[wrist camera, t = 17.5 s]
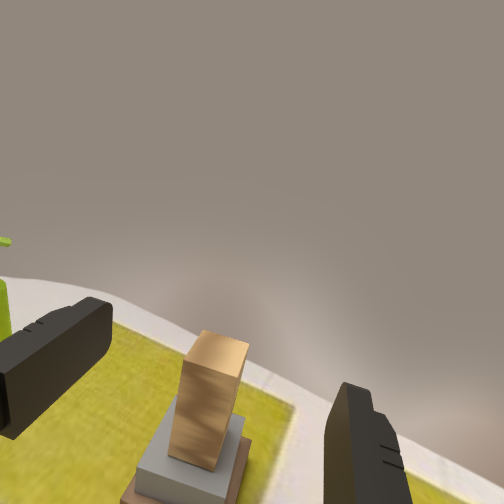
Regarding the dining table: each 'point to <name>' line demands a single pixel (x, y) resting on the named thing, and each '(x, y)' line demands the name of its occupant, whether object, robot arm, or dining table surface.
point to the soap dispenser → (4, 302)
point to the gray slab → (185, 468)
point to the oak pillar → (206, 398)
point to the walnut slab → (131, 500)
